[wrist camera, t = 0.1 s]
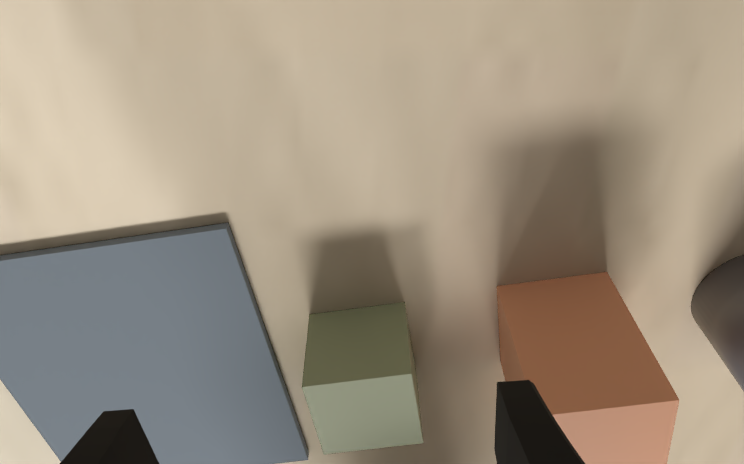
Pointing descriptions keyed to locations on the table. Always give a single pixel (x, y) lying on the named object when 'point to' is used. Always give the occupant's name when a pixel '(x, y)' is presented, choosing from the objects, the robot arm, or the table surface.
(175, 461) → the slate mat
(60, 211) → the table surface
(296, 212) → the table surface
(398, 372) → the olive cube
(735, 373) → the dark grey cylinder
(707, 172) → the table surface
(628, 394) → the terracotta block
